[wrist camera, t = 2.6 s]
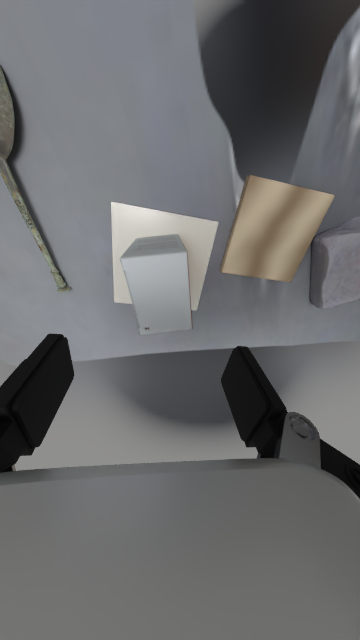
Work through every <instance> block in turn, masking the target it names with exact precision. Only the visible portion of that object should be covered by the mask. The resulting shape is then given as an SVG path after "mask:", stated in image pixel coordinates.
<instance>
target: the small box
mask: <svg viewBox="0 0 360 640" xmlns="http://www.w3.org/2000/svg"><path fill="white" fill-rule="evenodd" d="M120 262H121V265H122V268H123V271H124V275H125V278H126V282H127V285H128V289H129V293H130V297H131V300H132V304H133V308H134V312H135V316H136V320H137V325H138V330H139V335H148V334H157V333H165V332H173V331H182V330H189V329H192V328H193V327H192V311H191V296H190V281H189V265H188V252H187V250H186V248H185V246H184V244H183V243H182V241H181V239H180V237H179V235H178V234H171V235H161V236H151V237H142V238H136V239H135V241H134V242H133V243H132V244H131V245H130V246H129V248H128V249H127V250H126V251H125V253H124V254H123V255H122V256H121V257H120Z"/></svg>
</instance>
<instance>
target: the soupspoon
mask: <svg viewBox="0 0 360 640" xmlns="http://www.w3.org/2000/svg"><path fill="white" fill-rule="evenodd" d="M14 127H15V116H14V109H13V102H12V98H11V95H10V92H9V89H8V86H7V83H6V80H5V77H4V74H3V72H2V69H1V67H0V173H1V175H2V177H3V179H4V181H5V183H6V185H7V187H8V189H9V191H10V193H11V195H12V197H13V199H14V201H15V203H16V205H17V207H18V209H19V211H20V212H21V215H22V217H23V218H24V221H25V222H26V224H27V226H28V228H29V229H30V231H31V233H32V235H33V237H34V239H35V240H36V242H37V244H38V246H39V248H40V250H41V252H42V254H43V256H44V258H45V259H46V261H47V263H48V265H49V267H50V268H51V274H53V275H54V279H55V281H56V283H57V287H59V288H58V290H57V291H58V292H59V293H62V292H67V291H69V290H70V289H71V287H70V286H66V283H65V282H64V280H63V279H62V277H61V276H60V275H59V271H58V270H57V269H56V267H55V265H54V263H53V261H52V259H51V257H50V255H49V252H48V250H47V248H46V246H45V244H44V242H43V240H42V238H41V236H40V234H39V231H38V229H37V227H36V225H35V223H34V221H33V219H32V217H31V215H30V213H29V211H28V209H27V207H26V205H25V203H24V200H23V198H22V196H21V193H20V191H19V189H18V187H17V184H16V182H15V180H14V177H13V175H12V172H11V170H10V168H9V166H8V163H7V158H8V156H9V154H10V152H11V150H12V147H13V142H14Z"/></svg>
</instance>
